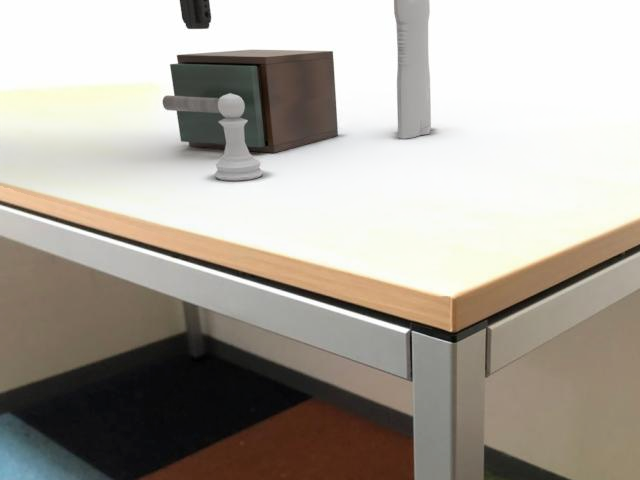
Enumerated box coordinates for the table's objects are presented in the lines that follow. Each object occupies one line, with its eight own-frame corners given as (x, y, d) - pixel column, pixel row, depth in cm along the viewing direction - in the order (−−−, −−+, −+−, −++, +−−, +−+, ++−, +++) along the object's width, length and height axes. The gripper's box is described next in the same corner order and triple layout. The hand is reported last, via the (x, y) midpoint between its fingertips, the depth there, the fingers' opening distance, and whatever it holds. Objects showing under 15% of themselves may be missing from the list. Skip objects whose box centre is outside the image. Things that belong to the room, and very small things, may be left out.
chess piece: (205, 179, 74) (194, 94, 71) (231, 170, 78) (222, 90, 75) (247, 182, 72) (237, 96, 69) (271, 173, 77) (264, 91, 73)
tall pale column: (415, 139, 96) (412, -52, 88) (386, 138, 98) (379, -51, 89) (441, 128, 106) (440, -46, 97) (414, 127, 107) (410, -45, 98)
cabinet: (274, 153, 88) (265, 56, 83) (189, 146, 92) (176, 54, 88) (338, 135, 100) (333, 51, 96) (260, 130, 104) (252, 49, 100)
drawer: (234, 153, 82) (225, 69, 79) (154, 147, 86) (141, 66, 83) (321, 131, 97) (316, 59, 94) (249, 126, 101) (242, 57, 98)
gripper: (95, -159, 74) (126, 29, 81) (201, -172, 69) (225, 29, 76) (150, -146, 80) (174, 28, 87) (251, -157, 76) (268, 28, 83)
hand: (198, 28), depth 82 cm, fingers closed
